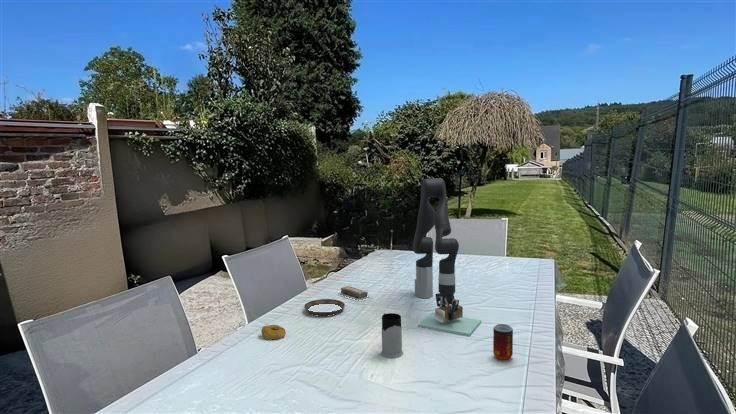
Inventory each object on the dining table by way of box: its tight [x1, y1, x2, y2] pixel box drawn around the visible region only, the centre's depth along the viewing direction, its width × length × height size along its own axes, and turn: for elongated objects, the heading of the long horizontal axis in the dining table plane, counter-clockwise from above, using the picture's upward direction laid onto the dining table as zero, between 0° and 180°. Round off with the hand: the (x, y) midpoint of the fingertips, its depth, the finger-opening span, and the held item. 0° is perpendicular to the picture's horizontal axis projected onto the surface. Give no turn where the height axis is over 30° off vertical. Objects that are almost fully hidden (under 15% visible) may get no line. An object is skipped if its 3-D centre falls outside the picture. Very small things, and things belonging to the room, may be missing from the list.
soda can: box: [492, 323, 514, 362], centre depth 165 cm, size 7×7×12 cm
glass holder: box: [380, 312, 404, 359], centre depth 173 cm, size 9×14×15 cm, turn 15°
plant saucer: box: [303, 298, 346, 317], centre depth 223 cm, size 21×21×3 cm
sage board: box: [417, 311, 482, 337], centre depth 200 cm, size 24×18×1 cm
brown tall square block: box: [434, 304, 464, 322], centre depth 200 cm, size 5×5×12 cm
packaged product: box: [338, 285, 371, 301], centre depth 245 cm, size 18×5×10 cm
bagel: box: [261, 324, 287, 340], centre depth 191 cm, size 10×11×5 cm
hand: (447, 318), depth 199 cm, fingers closed on brown tall square block, 5 cm apart
